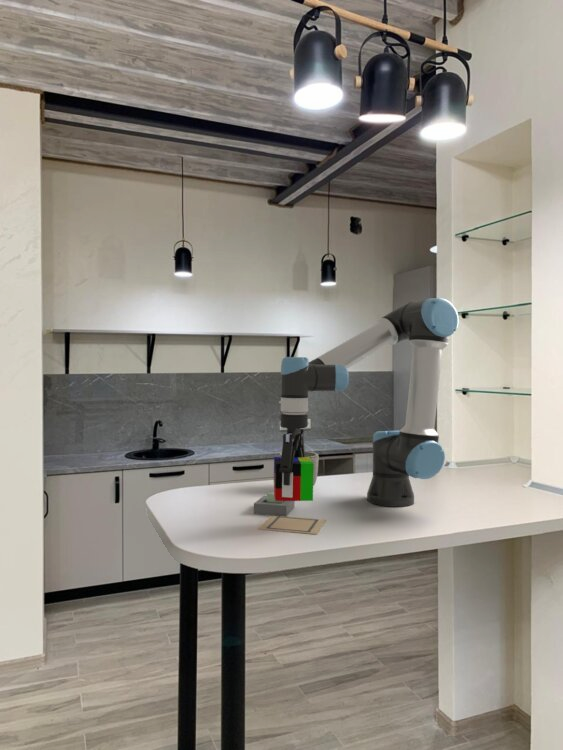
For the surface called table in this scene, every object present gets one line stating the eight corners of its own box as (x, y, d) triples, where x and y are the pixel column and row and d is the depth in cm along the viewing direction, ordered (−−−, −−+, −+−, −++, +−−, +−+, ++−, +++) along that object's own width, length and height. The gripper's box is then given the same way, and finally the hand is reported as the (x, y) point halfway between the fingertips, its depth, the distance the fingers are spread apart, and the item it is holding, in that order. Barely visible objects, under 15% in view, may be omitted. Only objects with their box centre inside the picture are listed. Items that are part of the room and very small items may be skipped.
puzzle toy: (273, 492, 156) (274, 457, 156) (308, 492, 156) (309, 457, 156) (275, 500, 146) (276, 463, 146) (312, 500, 146) (313, 463, 146)
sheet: (325, 520, 156) (325, 519, 155) (316, 534, 143) (316, 533, 143) (271, 516, 160) (271, 515, 160) (258, 529, 147) (258, 528, 147)
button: (284, 503, 168) (284, 492, 168) (280, 507, 163) (280, 496, 163) (269, 502, 169) (269, 491, 169) (264, 506, 164) (264, 495, 164)
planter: (272, 493, 188) (272, 455, 188) (287, 485, 201) (287, 449, 201) (310, 497, 183) (311, 458, 183) (323, 488, 196) (323, 452, 196)
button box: (294, 507, 170) (294, 497, 170) (286, 516, 160) (286, 505, 160) (263, 505, 172) (263, 495, 172) (253, 513, 163) (253, 503, 163)
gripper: (291, 409, 163) (290, 482, 164) (268, 416, 140) (267, 501, 141) (316, 410, 161) (315, 483, 162) (297, 417, 138) (295, 503, 139)
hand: (292, 491), depth 151 cm, fingers closed on puzzle toy, 12 cm apart
